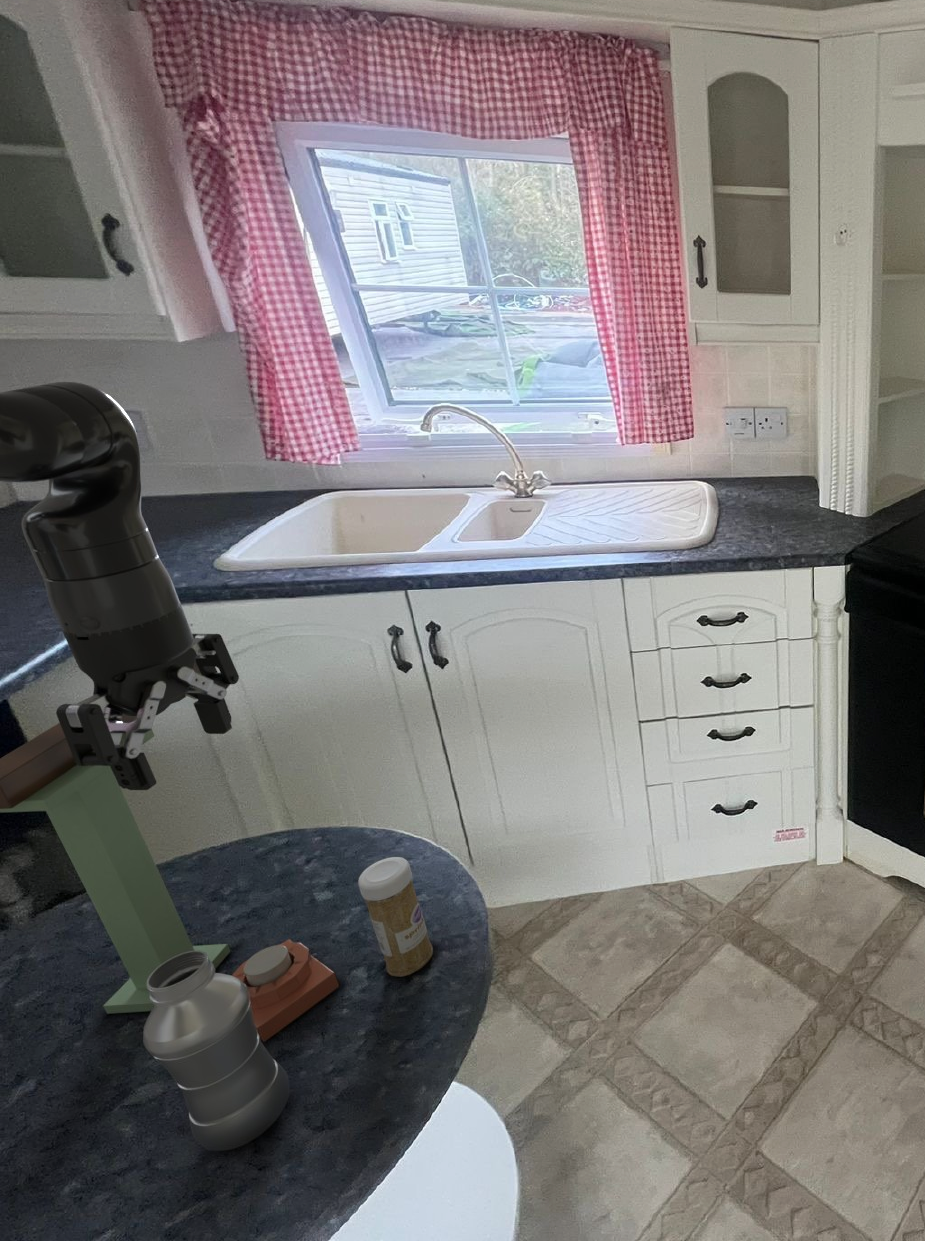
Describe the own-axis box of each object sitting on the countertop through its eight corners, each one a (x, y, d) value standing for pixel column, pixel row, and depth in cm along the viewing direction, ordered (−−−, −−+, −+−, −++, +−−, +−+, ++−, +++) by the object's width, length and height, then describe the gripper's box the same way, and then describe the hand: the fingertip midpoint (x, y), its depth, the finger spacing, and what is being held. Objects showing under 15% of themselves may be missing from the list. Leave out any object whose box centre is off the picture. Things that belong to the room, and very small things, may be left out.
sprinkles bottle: (431, 969, 83) (405, 879, 78) (383, 984, 82) (352, 893, 76) (435, 937, 87) (411, 849, 82) (389, 951, 85) (361, 862, 80)
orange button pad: (218, 1003, 79) (206, 977, 77) (294, 952, 85) (284, 927, 83) (264, 1042, 75) (252, 1015, 74) (339, 986, 81) (330, 960, 80)
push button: (240, 977, 78) (235, 965, 77) (280, 951, 81) (276, 939, 80) (259, 992, 76) (254, 980, 76) (299, 965, 79) (294, 953, 79)
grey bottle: (309, 1108, 70) (245, 957, 62) (217, 1179, 64) (136, 1022, 57) (278, 1071, 73) (214, 922, 65) (188, 1136, 67) (106, 981, 60)
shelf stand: (178, 939, 86) (80, 728, 75) (244, 936, 86) (156, 726, 75) (88, 1032, 75) (-40, 803, 64) (164, 1027, 76) (50, 800, 65)
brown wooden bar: (176, 679, 83) (167, 656, 82) (204, 679, 83) (195, 656, 82) (-25, 810, 64) (-41, 782, 63) (11, 808, 64) (-3, 781, 63)
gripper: (150, 578, 73) (204, 716, 79) (-13, 650, 60) (67, 809, 66) (230, 579, 73) (278, 716, 79) (85, 651, 60) (156, 809, 66)
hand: (182, 758), depth 72 cm, fingers open, 8 cm apart
